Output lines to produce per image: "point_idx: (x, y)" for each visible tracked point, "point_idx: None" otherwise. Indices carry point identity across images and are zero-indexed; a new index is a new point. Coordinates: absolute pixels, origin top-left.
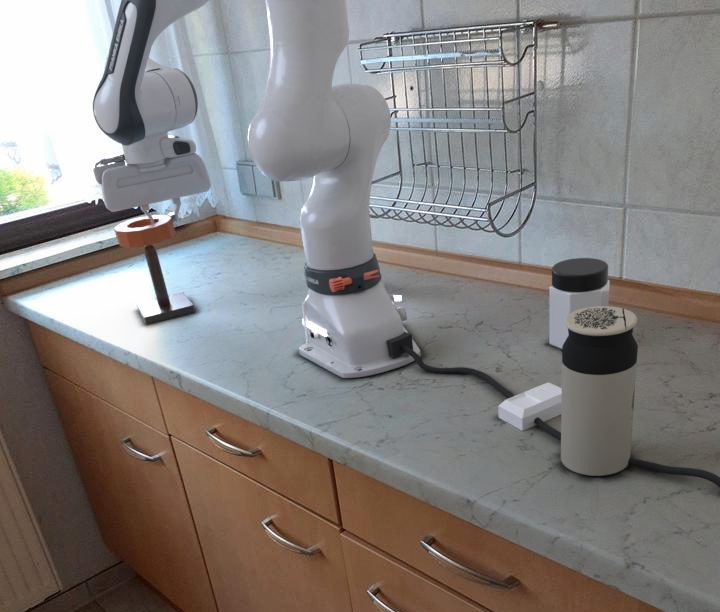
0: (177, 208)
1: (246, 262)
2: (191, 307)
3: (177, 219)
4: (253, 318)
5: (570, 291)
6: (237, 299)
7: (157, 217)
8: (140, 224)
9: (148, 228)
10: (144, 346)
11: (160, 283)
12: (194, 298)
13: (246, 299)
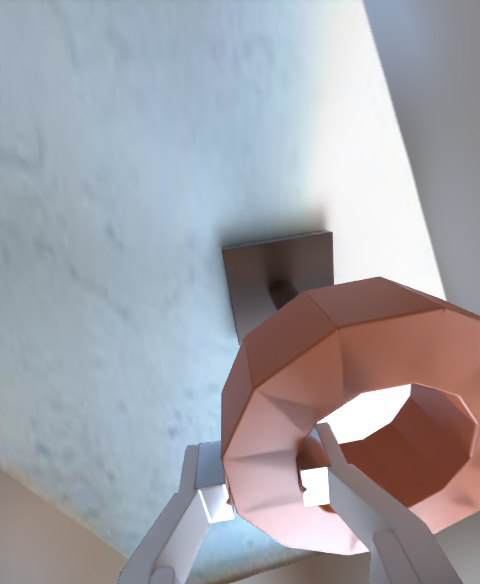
0: (165, 528)
1: (122, 462)
2: (227, 248)
3: (193, 456)
4: (82, 116)
5: None
6: (130, 276)
7: (304, 479)
8: None
9: (388, 317)
10: (349, 75)
11: (291, 299)
12: (220, 331)
13: (110, 265)
